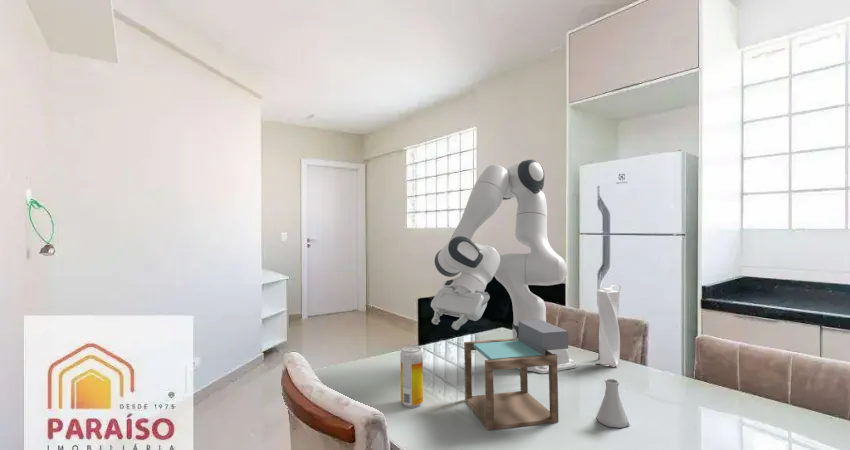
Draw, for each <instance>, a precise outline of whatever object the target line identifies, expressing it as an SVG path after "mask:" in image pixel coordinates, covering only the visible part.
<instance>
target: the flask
mask: <svg viewBox="0 0 850 450" xmlns="http://www.w3.org/2000/svg"><path fill="white" fill-rule="evenodd" d="M604 382H605V392H604V396H603V399H602V401H601V404H600V407H599V409H598V411H597V414H596V419H597V421H598V422H599V423H601V424H603V425H604V426H606V427H609V428H618V429H619V428H625V427H629V426H631V424H630V422H629V419H628V416H627V414H626V412H625V409H624V406H623V403H622V401H621V397H620V393H619V385H620V382H619V380H617V379H615V378H605V379H604Z"/></svg>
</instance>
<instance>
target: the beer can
mask: <svg viewBox="0 0 850 450" xmlns="http://www.w3.org/2000/svg"><path fill="white" fill-rule="evenodd" d="M423 358H424V357H423V350H422V348H421V347H420V346H418V345H417V346H416V345H410V346H409V345H408V346H404V347H402V348H401V351H400V401H401V403H402V406H404V407H405V408H417V407H420V406H422V403H423V402H424V370H423V369H424V368H423V367H424V365H423V364H424V363H423Z"/></svg>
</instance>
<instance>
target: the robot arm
mask: <svg viewBox="0 0 850 450" xmlns="http://www.w3.org/2000/svg"><path fill="white" fill-rule="evenodd" d="M544 185H545V170H544V168H543V166H542V165H541V163H540V162H539V161H537V160H536V159H526V160H522V161H520V162H519V163H516V164H513V165H510V167H508V168H505V167H504V166H502V165H501V164H490V165H489V166H487V167H486V168H485V169H484V170H483V172H481V174H480V175H479V176H478V178H477V180H476V182H475V184H474V186H473V188H472V190H471V192H470V195H469V197H468V200H467V202H466V206H465V207H464V210H463V213H462V216H461V219H460V221H459V223H458V224H457V227H456V228H455V230H454V232H453V234H452V235H451V238H450V240H449V241H448V242H447V244H446V245H444V247H443V248H442V249H440V250H439V251H437V253H436V254H435V256H434V266H435V268H436V270H437V272H439V273H440V274H441V275H442V276H445V277H447V278H449V277H450V278H451V279H448V280H445V281H444V282H443V284H442V286H443V287H442V288H440V289H439V290H438V291H437V293H436V294H435V295H434V297H433V299H432V300H431V301H430V307H431V309H432V310H433V311H434V314H433V317H432V319H431V323H432V324H433V325H437V326H438V325H439V323H440V322H441V320H440V317H441V316H443V315H447V316H451V317H456V318H459V319H457V320H455V321H453V322H452V324H451V328H452V329H453V330H456V331H459V330H460V328H461V326H463V325H464V324H466V323H468V321H469V320H470V321H474V322H477V321H479V320H480V319H481V318H482V316H483V314H484V312H485V310H486V308H487V305H488V301H489V300H490V298H491V297H490V294H489V293H488V292H487V291H485V290H486V289H487V285H488V284H489V283H490V282H491V281H492V280H493V278H495V279H496V281H498V282H499V283H500V284H501V285H502V286H503V287H504V288H505V289H506V291H507V293H508V294H509V296H510V297H509V298H510V299H511V303H512V312H513V314H512V315H513V322H512V327H511V328H512V330H511V334H512V339H515V338H518V335H519V322H518V321H529V320H543V321H545V322H547V314H546V313H547V312H546V311H547V309H546V303H545V301H544V299H542V298H541V297H540V296H538V295H536V294H534V293H533V292H532V291H530V288H529V286H545V287H546V286H554V285H560V284H562V283H563V282H564V281H565V279H566V277H567V276H568V275H567V274H568V266H567V263H566V261H565V260H564V258H563V257H562V256H560V255H559V254H558V253H557V252H556V251H555V250H554V249H553V247H552V246H551V244H550V242H549V239H548V205H547V203H548V202H547V198H546V195H545V193H544V192H543V191H542V190H543V188H544ZM512 198H515V199H516V201H517V208H516V209H517V210H516V215H515V217H516V220H515V231H514V232H515V233H514V235H515V238H516V240H517V241H518V242H519V243H521V244H522V245H524V246H526V247H528V248H530V253H512V252H511V253H507V254H501V255H500V254H499V252H498V251H497V250H496V249H495V248H494V247H493V246H492V245H489V244H480V243H476V242H474V241H472V239H473V237H474V234H475V233H476V232H477V230H478V229H479V228H480V227H481V226H482V225H483V224H484V223H485V222H486V221H488V220H489V218H491V217H492V216H493V215H494V214H495V213H496V211H497V210H498V209H499V207H500V206H501V204H502V202H503V201H507V200H511V199H512ZM460 273H461V274H460ZM458 274H460V275H458ZM456 276H457V277H456ZM453 277H455V278H453ZM568 350H569V349H557V350H547V351H549V352H550V353H552V354H554V355H556V356H557V372H559V371H565V370H570V369H574V368H577V362H575V361H574V360H573V359H572V358H570V355H569V351H568ZM517 369H518V370H520V368H517ZM527 372H534V373H539V374H549V365H546V366H534V367H527Z"/></svg>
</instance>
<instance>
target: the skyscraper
mask: <svg viewBox="0 0 850 450" xmlns="http://www.w3.org/2000/svg"><path fill="white" fill-rule="evenodd" d="M613 287H619V288H618V291H617V290H613ZM621 287H622V286H621V284H618V283H614V284H612V285H611V286H610V287H609V288H608V287H604V288H603V289H602V288H597V289H596V298H597V301H596V302H597V309H598V316H599V323H598V325H599V326H598V327H599V328H598V337H597V339H598V348H597V352H598V358H597V359H596V362H595V365H596V364H600V365H599V366H601V365H609V366H617V365H618V362H619V361H620V354H621V353H620V352H621V337H620V327H619V322H618V317H619V316H618V315H619V311H620V310H619V309H620V298H621V297H620V296H621V293H620V291H621ZM619 363H620V362H619ZM617 367H619V365H618V366H617Z"/></svg>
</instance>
